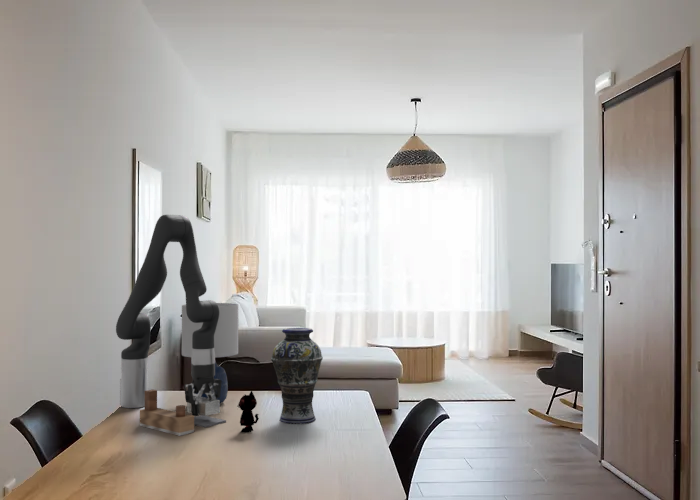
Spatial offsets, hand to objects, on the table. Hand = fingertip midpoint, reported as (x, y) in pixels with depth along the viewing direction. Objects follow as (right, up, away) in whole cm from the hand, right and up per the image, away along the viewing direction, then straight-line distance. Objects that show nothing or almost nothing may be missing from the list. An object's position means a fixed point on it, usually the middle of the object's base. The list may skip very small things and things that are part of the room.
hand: (203, 413), depth 227 cm
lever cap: (0, 0, 0) cm, 0 cm away
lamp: (-3, -3, +28) cm, 29 cm away
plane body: (-10, -3, -9) cm, 13 cm away
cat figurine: (+16, -3, -12) cm, 20 cm away
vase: (+30, -3, +3) cm, 30 cm away
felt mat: (0, -3, 0) cm, 3 cm away
